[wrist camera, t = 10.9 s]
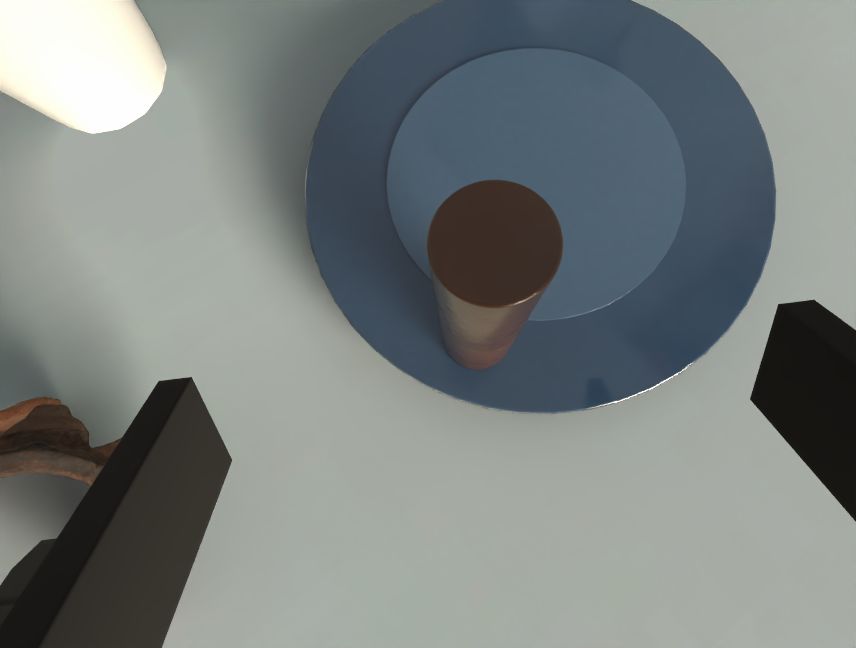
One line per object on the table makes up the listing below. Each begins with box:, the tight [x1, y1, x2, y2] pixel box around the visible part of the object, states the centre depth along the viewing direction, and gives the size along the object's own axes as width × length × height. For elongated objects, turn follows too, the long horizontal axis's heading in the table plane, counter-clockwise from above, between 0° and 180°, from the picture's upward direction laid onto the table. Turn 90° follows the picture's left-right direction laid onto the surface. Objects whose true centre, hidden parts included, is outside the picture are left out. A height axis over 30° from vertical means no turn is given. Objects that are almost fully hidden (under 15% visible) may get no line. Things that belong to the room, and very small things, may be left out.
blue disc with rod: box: [304, 0, 776, 414], centre depth 16 cm, size 19×19×11 cm
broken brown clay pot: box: [0, 397, 122, 487], centre depth 18 cm, size 12×10×8 cm
